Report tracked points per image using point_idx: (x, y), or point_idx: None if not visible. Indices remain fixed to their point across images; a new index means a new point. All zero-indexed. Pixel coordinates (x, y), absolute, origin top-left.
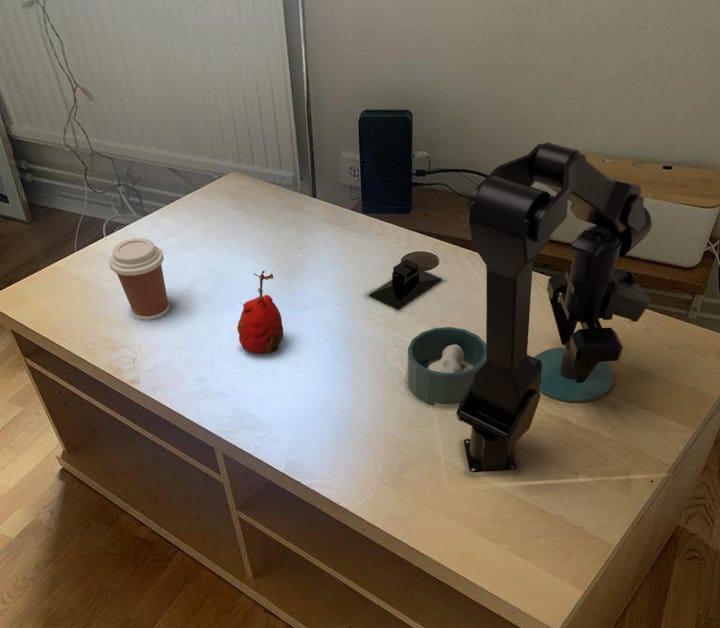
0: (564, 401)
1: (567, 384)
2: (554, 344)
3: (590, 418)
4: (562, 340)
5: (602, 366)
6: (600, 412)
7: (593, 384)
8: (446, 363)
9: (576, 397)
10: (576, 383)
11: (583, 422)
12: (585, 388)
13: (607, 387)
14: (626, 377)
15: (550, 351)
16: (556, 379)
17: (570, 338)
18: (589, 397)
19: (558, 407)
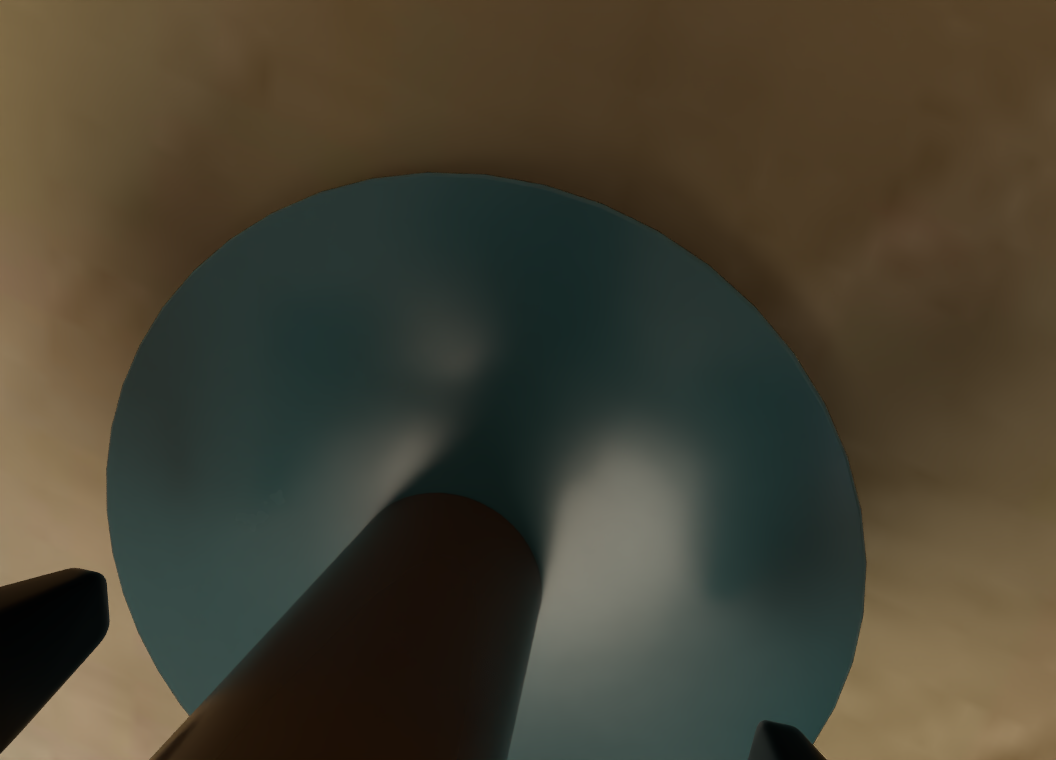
0: None
1: (602, 672)
2: (53, 473)
3: (1021, 598)
4: (46, 686)
5: (410, 254)
6: (978, 485)
7: (668, 460)
8: None
9: (806, 682)
10: (612, 601)
11: (1047, 671)
12: (703, 554)
13: (758, 343)
14: (550, 19)
15: (154, 611)
16: (515, 721)
17: (12, 627)
18: (855, 582)
19: None
